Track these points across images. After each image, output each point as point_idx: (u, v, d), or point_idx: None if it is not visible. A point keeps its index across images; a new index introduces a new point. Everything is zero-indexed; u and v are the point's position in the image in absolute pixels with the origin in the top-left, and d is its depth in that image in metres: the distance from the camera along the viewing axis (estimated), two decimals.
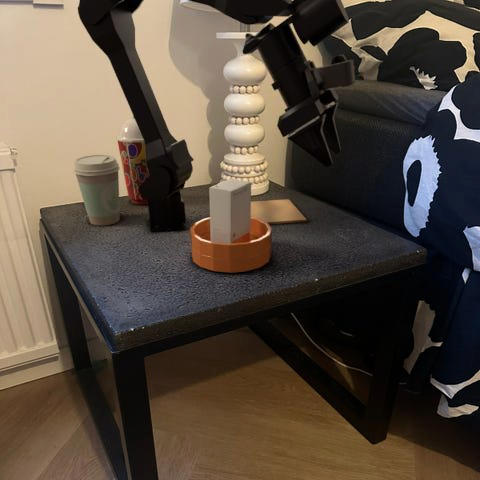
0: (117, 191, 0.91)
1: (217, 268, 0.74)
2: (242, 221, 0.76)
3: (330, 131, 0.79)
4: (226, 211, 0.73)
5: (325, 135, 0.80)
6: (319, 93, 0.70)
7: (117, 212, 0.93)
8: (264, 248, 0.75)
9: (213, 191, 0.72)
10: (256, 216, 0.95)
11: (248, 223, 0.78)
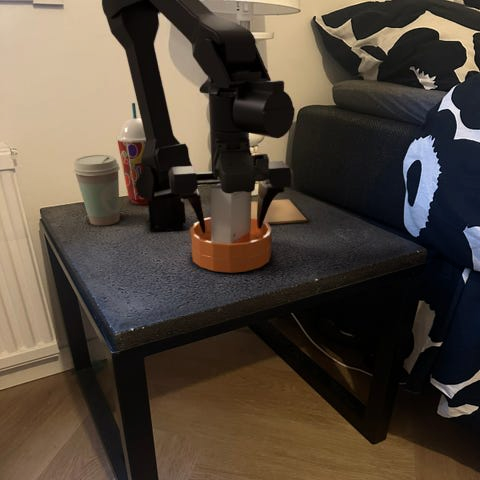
0: (117, 191, 0.91)
1: (217, 268, 0.74)
2: (243, 221, 0.76)
3: (260, 207, 0.76)
4: (227, 211, 0.73)
5: (258, 206, 0.77)
6: (214, 175, 0.69)
7: (117, 212, 0.93)
8: (264, 248, 0.75)
9: (214, 191, 0.72)
10: (256, 216, 0.95)
11: (248, 223, 0.78)
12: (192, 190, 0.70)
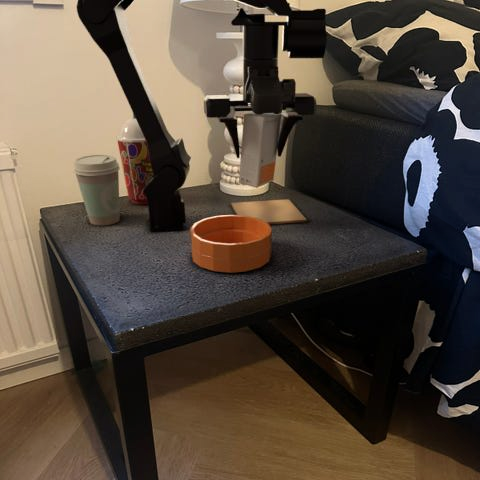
0: (117, 191, 0.91)
1: (217, 268, 0.74)
2: (270, 149, 0.84)
3: (280, 135, 0.84)
4: (258, 137, 0.81)
5: (279, 135, 0.85)
6: (245, 100, 0.77)
7: (117, 212, 0.93)
8: (264, 248, 0.75)
9: (247, 118, 0.80)
10: (256, 216, 0.95)
11: (275, 153, 0.86)
12: (225, 114, 0.78)
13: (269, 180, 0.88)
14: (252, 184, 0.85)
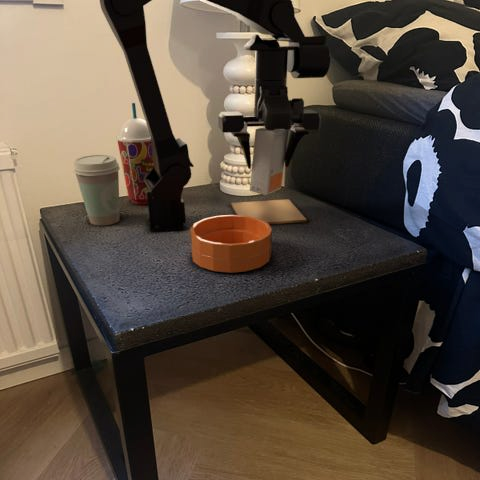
0: (117, 191, 0.91)
1: (217, 268, 0.74)
2: (279, 160, 0.92)
3: (288, 148, 0.92)
4: (268, 150, 0.89)
5: (287, 147, 0.93)
6: (258, 117, 0.85)
7: (117, 212, 0.93)
8: (264, 248, 0.75)
9: (259, 132, 0.88)
10: (256, 216, 0.95)
11: (282, 163, 0.94)
12: (239, 129, 0.86)
13: (277, 188, 0.96)
14: (262, 192, 0.93)
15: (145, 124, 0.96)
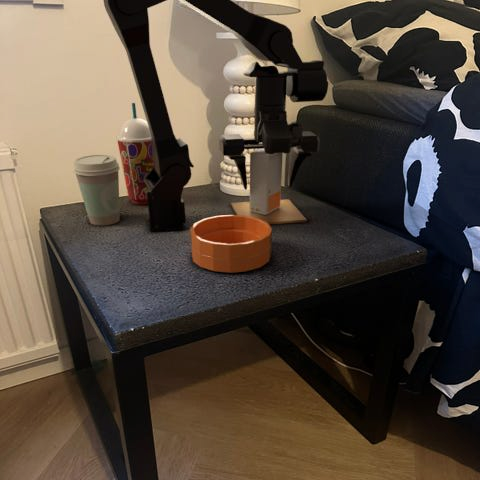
0: (117, 191, 0.91)
1: (217, 268, 0.74)
2: (275, 180, 0.94)
3: (291, 168, 0.94)
4: (264, 171, 0.91)
5: (290, 168, 0.95)
6: (257, 140, 0.87)
7: (117, 212, 0.93)
8: (264, 248, 0.75)
9: (253, 155, 0.91)
10: (256, 216, 0.95)
11: (279, 183, 0.96)
12: (240, 152, 0.88)
13: (277, 207, 0.98)
14: (262, 212, 0.96)
15: (145, 124, 0.96)
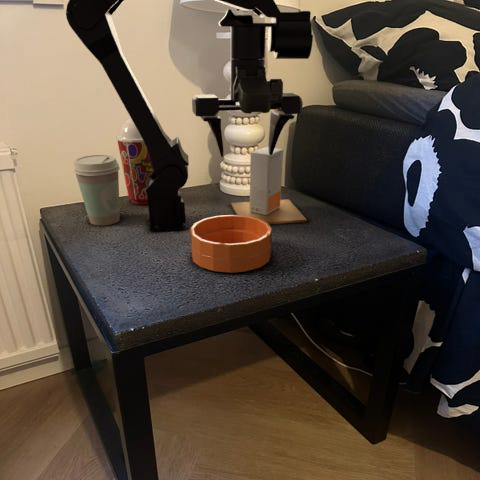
0: (117, 191, 0.91)
1: (217, 268, 0.74)
2: (276, 180, 0.94)
3: (272, 134, 0.86)
4: (264, 171, 0.91)
5: (270, 134, 0.87)
6: (234, 100, 0.79)
7: (117, 212, 0.93)
8: (264, 248, 0.75)
9: (254, 155, 0.91)
10: (256, 216, 0.95)
11: (280, 183, 0.96)
12: (214, 113, 0.79)
13: (277, 207, 0.98)
14: (262, 212, 0.96)
15: None
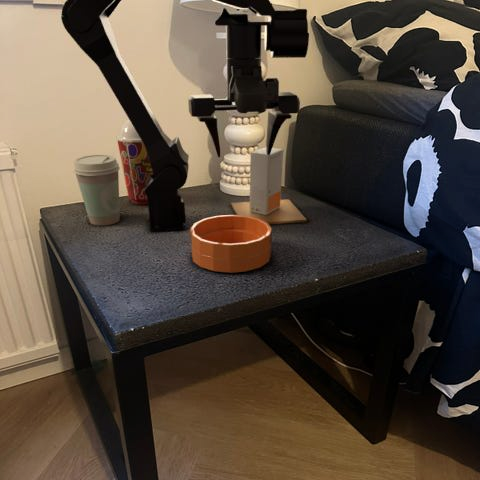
0: (117, 191, 0.91)
1: (217, 268, 0.74)
2: (276, 180, 0.94)
3: (269, 134, 0.85)
4: (264, 171, 0.91)
5: (268, 133, 0.86)
6: (230, 100, 0.78)
7: (117, 212, 0.93)
8: (264, 248, 0.75)
9: (254, 155, 0.91)
10: (256, 216, 0.95)
11: (280, 183, 0.96)
12: (210, 113, 0.79)
13: (277, 207, 0.98)
14: (262, 212, 0.96)
15: None
